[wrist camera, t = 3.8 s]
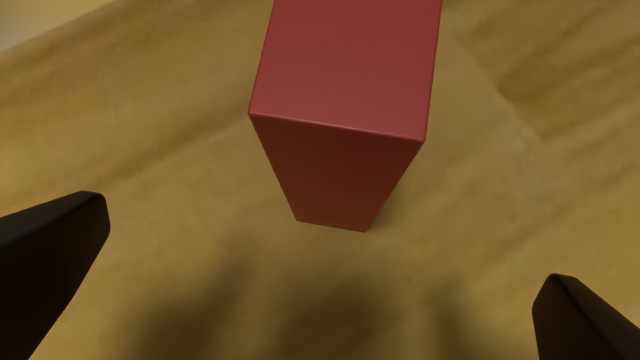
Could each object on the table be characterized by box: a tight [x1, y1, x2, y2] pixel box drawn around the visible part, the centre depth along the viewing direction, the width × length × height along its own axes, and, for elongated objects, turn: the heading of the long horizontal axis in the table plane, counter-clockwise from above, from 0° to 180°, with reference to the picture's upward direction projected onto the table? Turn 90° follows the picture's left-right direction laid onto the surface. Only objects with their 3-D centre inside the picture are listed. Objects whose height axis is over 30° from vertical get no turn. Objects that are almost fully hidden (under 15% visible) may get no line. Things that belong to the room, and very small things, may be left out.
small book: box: [248, 0, 442, 232], centre depth 15 cm, size 8×4×13 cm, turn 170°
